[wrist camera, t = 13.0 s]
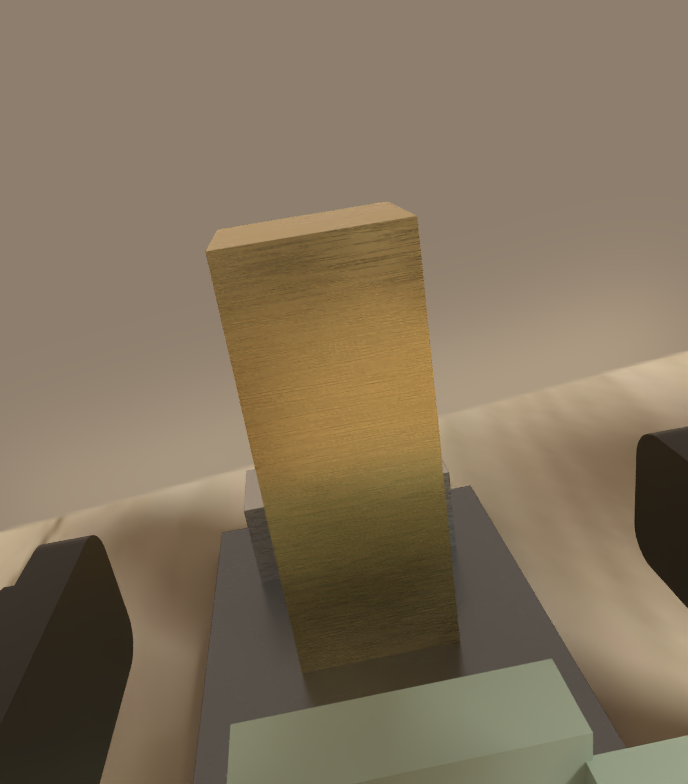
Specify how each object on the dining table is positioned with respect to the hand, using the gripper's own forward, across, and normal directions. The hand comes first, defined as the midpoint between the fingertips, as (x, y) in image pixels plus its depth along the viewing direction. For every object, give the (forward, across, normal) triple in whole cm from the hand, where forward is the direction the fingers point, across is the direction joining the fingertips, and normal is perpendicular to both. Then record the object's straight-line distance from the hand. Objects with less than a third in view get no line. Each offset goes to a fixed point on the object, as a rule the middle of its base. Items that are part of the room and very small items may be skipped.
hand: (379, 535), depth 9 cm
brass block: (+9, 0, +10) cm, 13 cm away
